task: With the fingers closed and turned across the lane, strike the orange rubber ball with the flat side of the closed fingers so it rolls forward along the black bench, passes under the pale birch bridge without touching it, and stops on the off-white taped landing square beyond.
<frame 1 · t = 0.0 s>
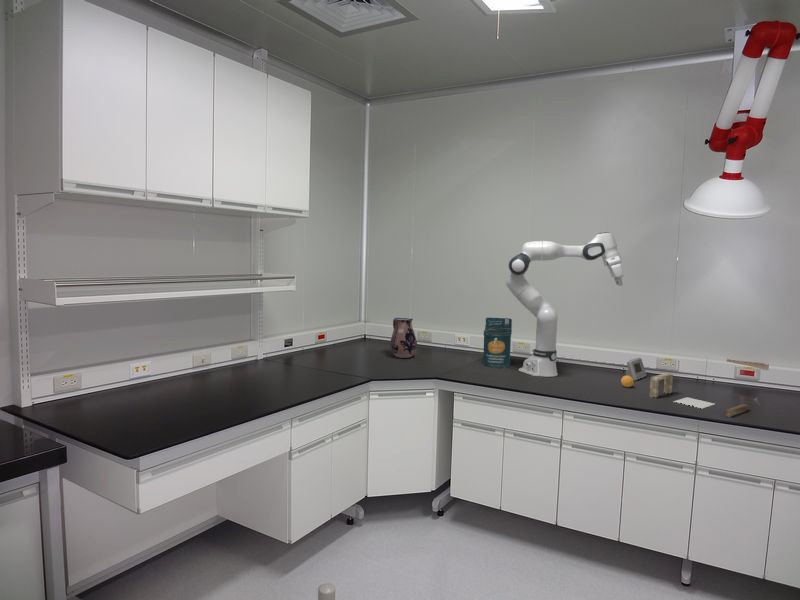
hand: (619, 285, 286), 52 cm above the worktop, tool tilted 20°, fingers open, 8 cm apart
bridge: (660, 395, 259), on the worktop
digital clock: (636, 378, 293), on the worktop
stopper: (736, 413, 232), on the worktop
ball: (627, 381, 274), on the worktop
ceramic pitcher: (401, 356, 344), on the worktop
teal food package: (496, 365, 323), on the worktop
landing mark: (694, 403, 246), on the worktop
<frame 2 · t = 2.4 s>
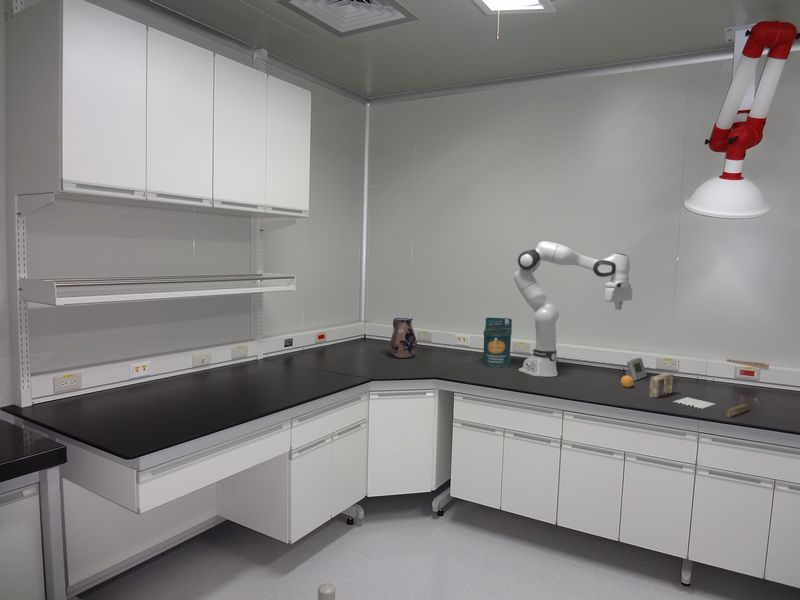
hand: (618, 309, 283), 39 cm above the worktop, tool pointing down, fingers closed
nothing on the worktop moved.
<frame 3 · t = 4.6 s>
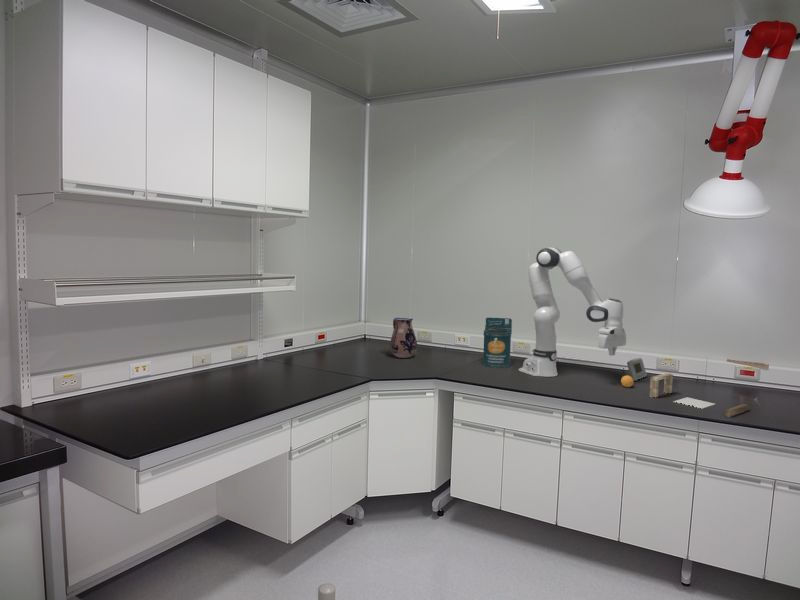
hand: (611, 355, 280), 15 cm above the worktop, tool pointing down, fingers closed
nothing on the worktop moved.
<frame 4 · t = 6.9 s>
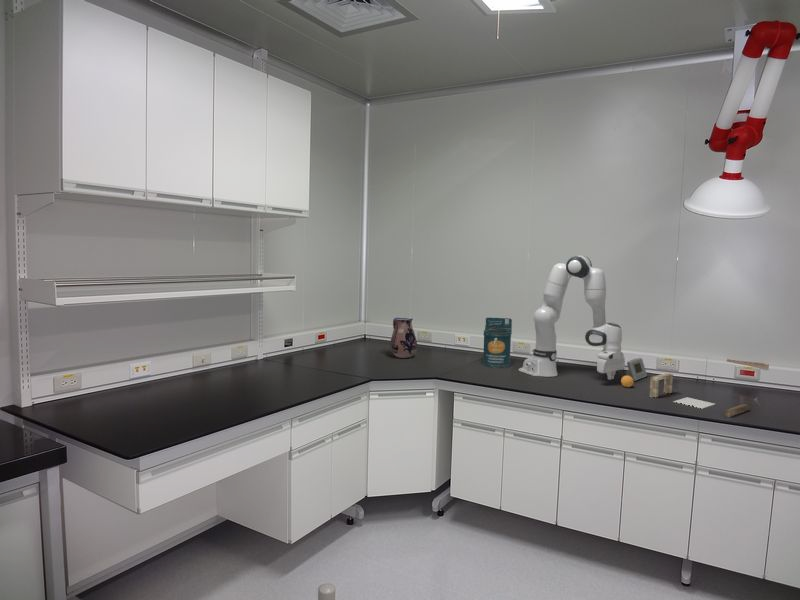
hand: (610, 379, 281), 2 cm above the worktop, tool pointing down, fingers closed
nothing on the worktop moved.
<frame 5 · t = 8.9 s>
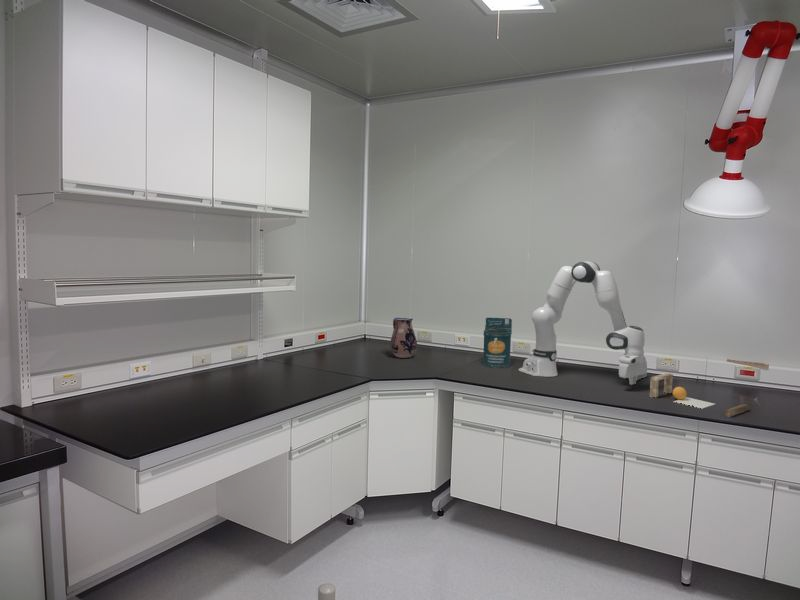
hand: (632, 384, 271), 2 cm above the worktop, tool pointing down, fingers closed
ball: (679, 393, 252), on the worktop
everything else where it was.
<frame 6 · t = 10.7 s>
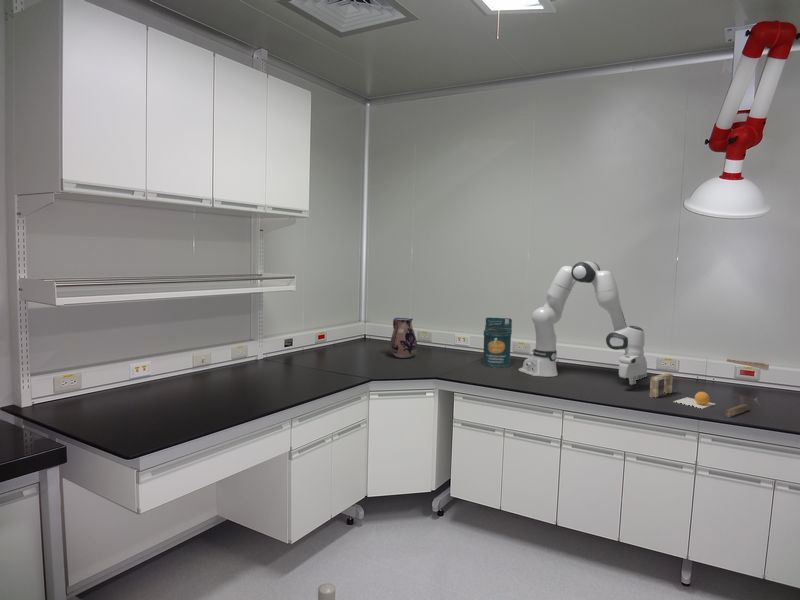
hand: (632, 384, 271), 2 cm above the worktop, tool pointing down, fingers closed
ball: (702, 398, 244), on the worktop
everything else where it was.
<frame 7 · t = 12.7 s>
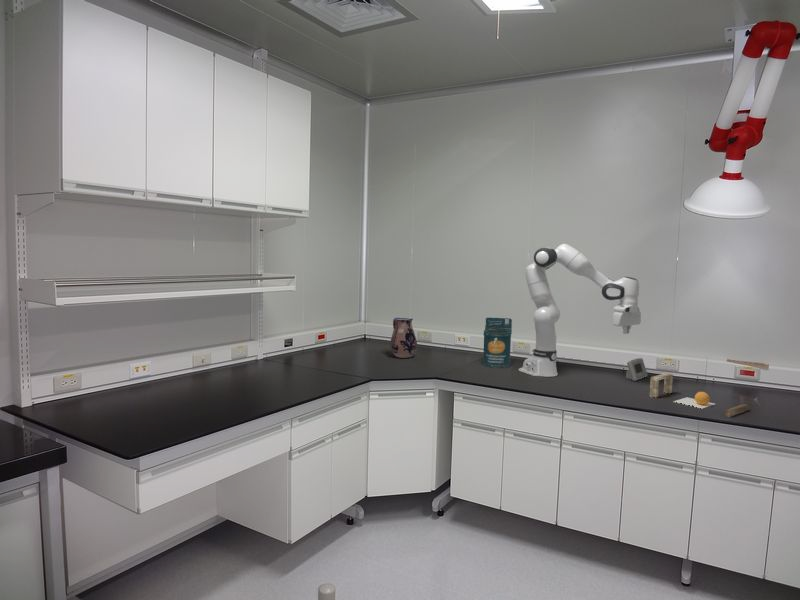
hand: (626, 333, 280), 27 cm above the worktop, tool pointing down, fingers closed
nothing on the worktop moved.
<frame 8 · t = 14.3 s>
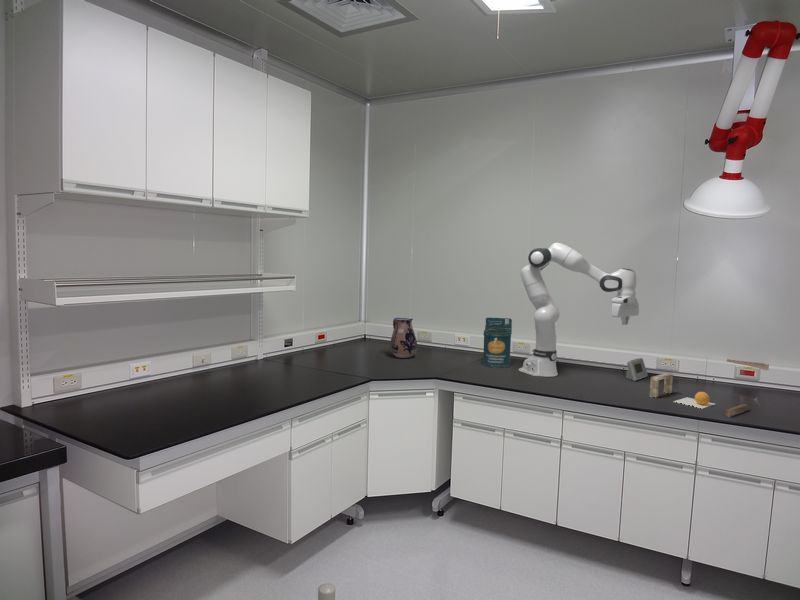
hand: (624, 324, 282), 31 cm above the worktop, tool pointing down, fingers closed
nothing on the worktop moved.
at the end: ball 3.2 cm from the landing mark (horizontally); ball never touched bridge; ball at rest at the end (0.0 cm/s) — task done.
